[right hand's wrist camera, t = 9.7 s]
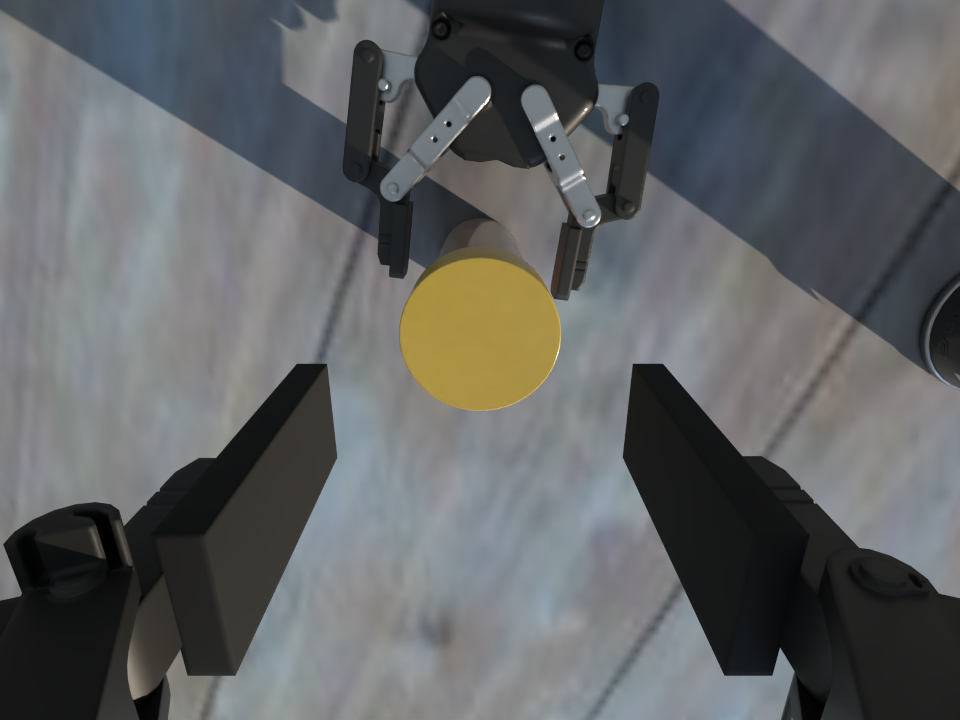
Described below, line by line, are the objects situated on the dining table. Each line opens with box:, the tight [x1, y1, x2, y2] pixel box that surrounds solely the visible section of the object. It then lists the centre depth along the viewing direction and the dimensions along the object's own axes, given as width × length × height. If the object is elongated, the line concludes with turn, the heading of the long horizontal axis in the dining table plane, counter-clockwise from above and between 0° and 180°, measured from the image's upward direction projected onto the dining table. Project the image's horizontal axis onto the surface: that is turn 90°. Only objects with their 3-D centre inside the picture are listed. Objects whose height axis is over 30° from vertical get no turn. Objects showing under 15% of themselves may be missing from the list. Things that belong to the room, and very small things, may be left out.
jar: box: [438, 218, 522, 259], centre depth 27 cm, size 5×5×16 cm
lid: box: [399, 246, 561, 411], centre depth 21 cm, size 6×6×2 cm
